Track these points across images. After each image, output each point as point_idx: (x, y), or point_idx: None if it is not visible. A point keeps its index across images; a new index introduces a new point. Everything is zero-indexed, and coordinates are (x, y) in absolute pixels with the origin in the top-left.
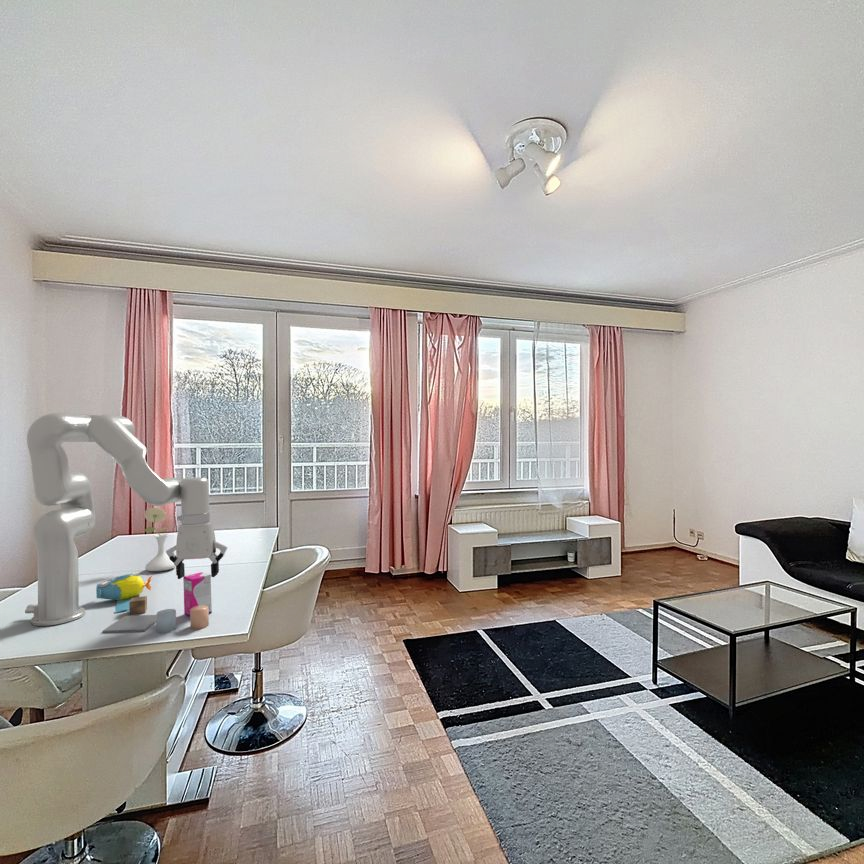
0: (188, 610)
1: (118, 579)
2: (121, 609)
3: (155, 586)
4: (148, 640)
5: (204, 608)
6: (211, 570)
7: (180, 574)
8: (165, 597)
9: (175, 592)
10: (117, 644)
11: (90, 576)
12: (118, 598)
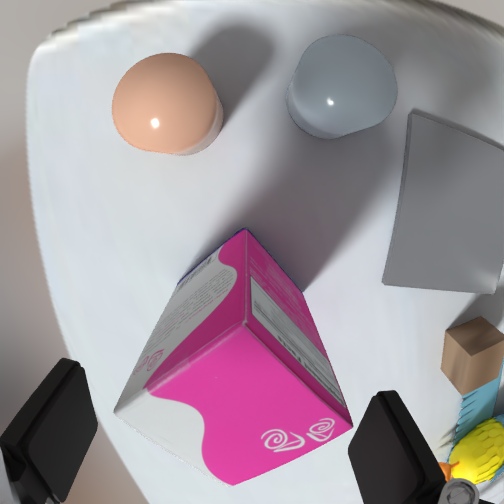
0: (276, 267)
1: None
2: None
3: None
4: (354, 16)
5: (129, 93)
6: (52, 400)
7: (384, 421)
8: None
9: None
10: (440, 28)
11: (489, 494)
12: (495, 416)
